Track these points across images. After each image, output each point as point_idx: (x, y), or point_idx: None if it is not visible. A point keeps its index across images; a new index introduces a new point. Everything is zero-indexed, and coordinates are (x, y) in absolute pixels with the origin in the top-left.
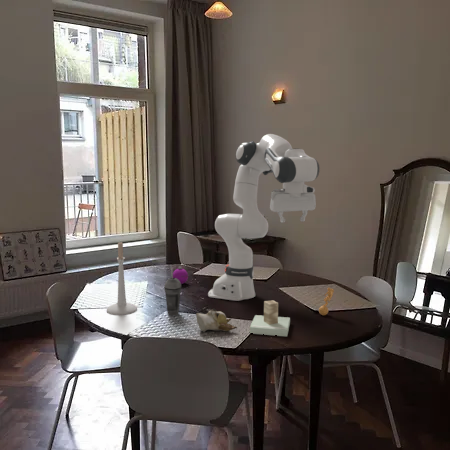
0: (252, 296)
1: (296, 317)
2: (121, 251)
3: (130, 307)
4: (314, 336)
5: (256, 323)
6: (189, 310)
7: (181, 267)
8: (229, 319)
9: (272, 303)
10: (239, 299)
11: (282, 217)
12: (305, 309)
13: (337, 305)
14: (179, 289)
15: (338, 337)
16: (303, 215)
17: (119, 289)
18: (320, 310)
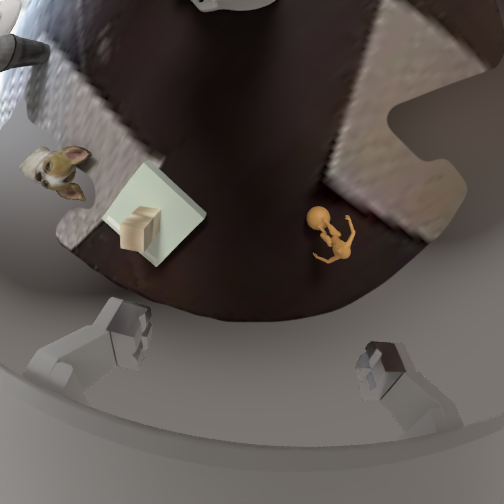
0: (256, 7)
1: (249, 190)
2: None
3: (2, 28)
4: (205, 284)
5: (120, 209)
6: (72, 40)
7: None
8: (88, 156)
9: (130, 247)
10: (206, 10)
11: (97, 370)
12: (313, 159)
13: (397, 187)
14: (8, 65)
15: (239, 307)
16: (402, 401)
17: None
18: (307, 219)
